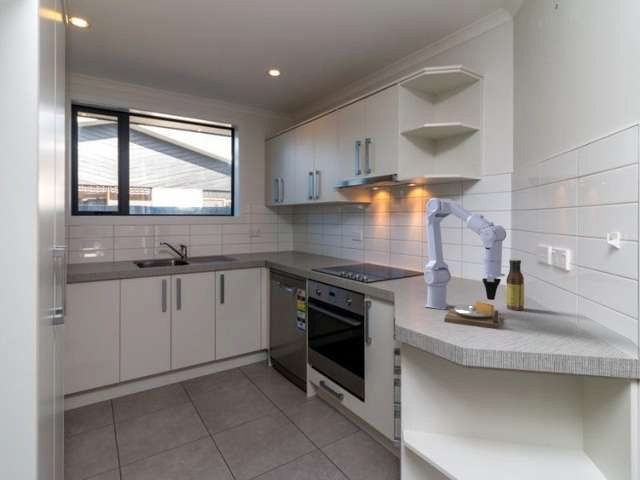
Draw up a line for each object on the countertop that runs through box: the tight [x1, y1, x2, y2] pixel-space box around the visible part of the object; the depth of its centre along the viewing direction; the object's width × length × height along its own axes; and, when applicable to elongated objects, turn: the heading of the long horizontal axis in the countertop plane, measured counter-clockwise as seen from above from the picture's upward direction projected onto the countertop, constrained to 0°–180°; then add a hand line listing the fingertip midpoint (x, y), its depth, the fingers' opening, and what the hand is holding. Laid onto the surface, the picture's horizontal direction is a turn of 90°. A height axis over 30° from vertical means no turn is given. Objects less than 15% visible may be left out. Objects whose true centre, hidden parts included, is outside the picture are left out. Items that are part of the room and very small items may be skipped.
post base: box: [443, 307, 502, 330], centre depth 125 cm, size 16×17×6 cm
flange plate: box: [453, 301, 495, 317], centre depth 125 cm, size 13×13×4 cm
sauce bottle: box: [505, 258, 525, 311], centre depth 140 cm, size 7×6×20 cm
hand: (490, 299), depth 123 cm, fingers closed
